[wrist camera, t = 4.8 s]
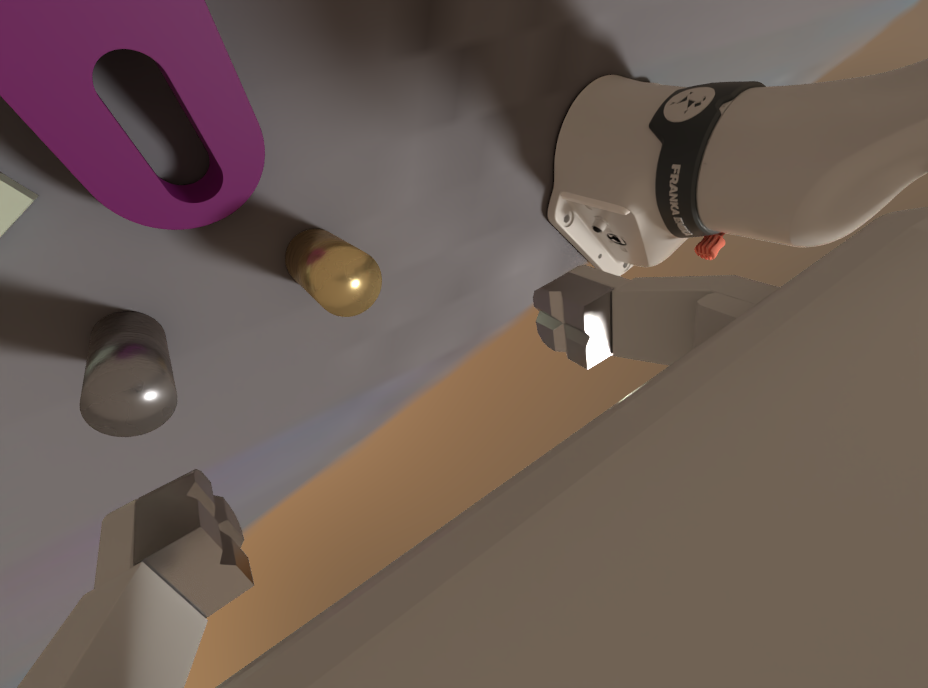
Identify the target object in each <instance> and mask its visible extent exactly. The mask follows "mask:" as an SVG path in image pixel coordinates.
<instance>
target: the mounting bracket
mask: <svg viewBox="0 0 928 688" xmlns="http://www.w3.org/2000/svg"><path fill="white" fill-rule="evenodd" d="M117 49H131V50H135V51H139V52H141V53H144V54H146V55H148V56H149V57H151V58H152V59H154V60H155V62H156V64H157V65H158V67H159V69H160V71H161V72H162V74H163V76H164V78H165V79H166V81H167V83H168V84H169V86H170V88H171V90H172V91H173V93H174V95H175V96H176V98H177V100H178V102H179V103H180V105H181V107H182V109H183V110H184V112H185V114H186V115H187V117H188V119H189V121H190V122H191V124H192V126H193V128H194V129H195V131H196V133H197V134H198V136H199V138H200V140H201V141H202V143H203V145H204V146H205V148H206V150H207V152H208V154H209V159H210V164H209V169H208V171H207V173H206V174H205V176H204V177H203V178H202V179H200V180H199V181H197V182H195V183H193V184H189V185H175V184H171V183H168V182H166V181H164V180H162V179H161V178H160V177H158V176H157V175H156V173H155V172H154V171H153V169H152V168H151V167H150V165H149V164H148V163H147V161H146V160H145V158H144V157H143V156H142V154H141V153H140V152H139V150H138V149H137V148H136V146H135V145H134V143H133V142H132V141H131V139H130V138H129V137H128V135H127V134H126V132H125V131H124V130H123V128H122V127H121V126H120V124H119V123H118V121H117V120H116V119H115V117H114V116H113V115H112V113H111V112H110V111H109V109H108V108H107V106H106V105H105V104H104V102H103V101H102V100H101V98H100V97H99V95H98V94H97V93H96V91H95V89H94V86H93V81H92V73H93V68H94V66H95V64H96V62H97V60H98V59H99V58H100V57H101V56H102V55H104V54H105V53H107V52H109V51H112V50H117ZM0 96H1V97H2V98H3V99H4V100H5V101H6V102H7V103H8V104H9V106H10V107H11V108H12V109H13V110H14V111H15V112H16V113H17V114H18V115H19V116H20V117H21V119H22V120H23V121H24V122H25V123H26V124H27V125H28V126H29V127H30V128H31V129H32V130H33V132H34V133H35V134H36V135H37V136H38V137H39V138H40V139H41V140H42V141H43V142H44V143H45V145H46V146H47V147H48V148H49V149H50V150H51V151H52V152H53V153H54V154H55V155H56V156H57V158H58V159H59V160H60V161H61V162H62V163H63V164H64V165H65V166H66V167H67V168H68V169H69V171H70V172H71V173H72V174H73V175H74V176H75V177H76V178H77V179H78V180H79V181H80V182H81V184H82V185H83V186H84V187H85V188H86V189H87V190H88V191H89V192H90V193H91V194H92V195H93V196H94V197H95V198H96V199H97V200H98V201H99V202H100V203H102V204H103V205H104V206H105V207H107V208H108V209H110V210H111V211H113V212H114V213H116V214H118V215H120V216H122V217H123V218H126V219H128V220H130V221H133V222H135V223H138V224H141V225H145V226H149V227H153V228H160V229H171V230H181V229H192V228H197V227H202V226H205V225H209V224H212V223H214V222H217V221H219V220H221V219H223V218H225V217H227V216H228V215H230V214H232V213H233V212H234V211H236V210H237V209H238V208H239V207H241V206H242V205H243V204H244V203H245V202H246V201H247V199H248V198H249V197H250V196H251V194H252V193H253V192H254V190H255V188H256V186H257V185H258V182H259V180H260V178H261V175H262V171H263V167H264V159H265V146H264V140H263V135H262V131H261V128H260V126H259V123H258V121H257V119H256V116H255V114H254V112H253V109H252V107H251V105H250V103H249V100H248V98H247V96H246V94H245V91H244V89H243V87H242V84H241V82H240V80H239V78H238V75H237V73H236V71H235V69H234V66H233V64H232V62H231V59H230V57H229V55H228V53H227V50H226V48H225V46H224V44H223V41H222V39H221V37H220V34H219V32H218V30H217V28H216V25H215V23H214V21H213V19H212V16H211V14H210V12H209V9H208V7H207V5H206V3H205V0H0Z"/></svg>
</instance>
